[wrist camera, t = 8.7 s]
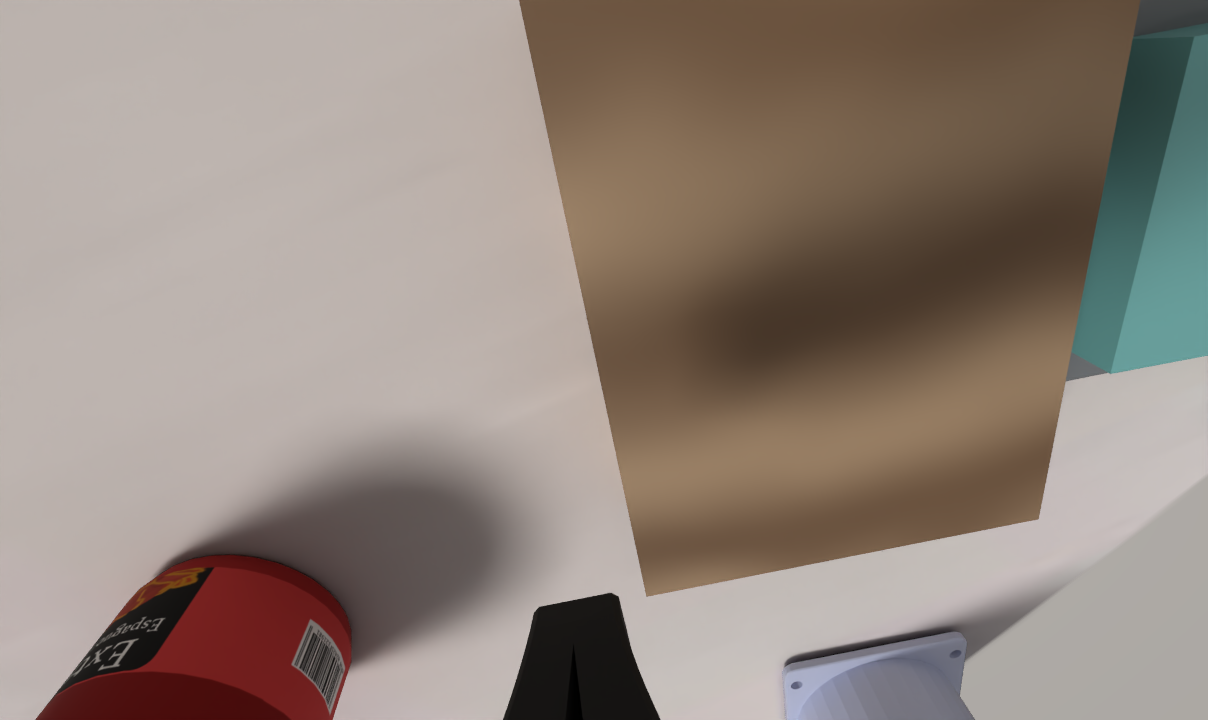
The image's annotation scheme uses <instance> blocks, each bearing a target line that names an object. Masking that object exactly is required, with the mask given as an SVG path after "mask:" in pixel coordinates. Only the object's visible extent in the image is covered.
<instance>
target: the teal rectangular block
mask: <svg viewBox="0 0 1208 720" xmlns="http://www.w3.org/2000/svg"><path fill="white" fill-rule="evenodd" d="M1071 352H1072V353H1074V354H1076V355H1077V356H1079V357H1081V358H1083V359H1085V360H1086V361H1088V362H1090V363H1092V364H1094V365H1095V366H1097V367H1099V368H1101V369H1103V370H1104V371H1106V372H1108V373H1110V374H1112V373H1118V372H1123V371H1128V370H1134V369H1139V368H1144V367H1149V366H1155V365H1160V364H1165V363H1171V362H1176V361H1181V360H1187V359H1192V358H1197V357H1202V356H1208V23H1204V24H1199V25H1194V26H1188V27H1183V28H1178V29H1173V30H1167V31H1162V32H1157V33H1152V34H1147V35H1141V36H1136V37H1133V40H1132V45H1131V50H1130V55H1129V60H1128V65H1127V70H1126V76H1125V81H1124V86H1123V91H1122V96H1121V101H1120V106H1119V111H1118V116H1117V121H1116V127H1115V132H1114V137H1113V142H1112V147H1111V152H1110V157H1109V162H1108V167H1107V172H1106V177H1105V183H1104V188H1103V193H1102V198H1101V203H1100V208H1099V213H1098V218H1097V223H1096V228H1095V234H1094V239H1093V244H1092V249H1091V254H1090V259H1089V264H1088V269H1087V274H1086V279H1085V284H1084V290H1083V295H1082V300H1081V305H1080V310H1079V315H1078V320H1077V325H1076V330H1075V335H1074V341H1073V346H1072V351H1071Z"/></svg>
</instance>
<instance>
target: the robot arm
mask: <svg viewBox="0 0 1208 720" xmlns="http://www.w3.org/2000/svg"><path fill="white" fill-rule="evenodd" d="M966 648H967V640H966V639H965V638H964V636H963V635H962V634H961V633H959V632H948V633H943V634H938V635H933V636H928V637H923V638H918V639H913V640H907V641H902V642H897V643H892V644H887V645H882V646H877V647H872V648H867V649H862V650H857V651H851V652H846V653H841V654H836V655H831V656H826V657H821V658H816V659H811V660H806V661H800V662H795V663H791V664H788V665H787V666H785V668H784V669H783V671H782V678H783V691H784V705H785V719H786V720H975V719H974V718H973V716H972V714H971V713H970V711H969V710H968V708H967V707H966V705H965V704H964V702H963V701H962V699H961V697H960V690H961V683H962V676H963V669H964V662H965V655H966ZM503 720H660V718H659V715H658V713H657V711H656V709H655V706H654V704H653V702H652V700H651V698H650V695H649V693H648V691H647V689H646V686H645V684H644V681H643V679H642V677H641V674H640V672H639V669H638V666H637V664H636V661H635V658H634V655H633V653H632V650H631V646H630V642H629V638H628V634H627V629H626V625H625V621H624V617H623V613H622V609H621V605H620V601H619V597H618V596H616V595H614V594H612V593H607V594H602V595H597V596H592V597H587V598H582V599H577V600H572V601H567V602H562V603H557V604H552V605H547V606H542V607H539V608H538V609H537V610H536V611H535V612H534V615H533V620H532V624H531V629H530V633H529V637H528V641H527V645H526V648H525V652H524V656H523V659H522V663H521V666H520V669H519V673H518V676H517V679H516V682H515V686H514V689H513V692H512V695H511V698H510V701H509V704H508V707H507V710H506V713H505V715H504V718H503Z"/></svg>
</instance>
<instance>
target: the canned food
mask: <svg viewBox="0 0 1208 720" xmlns="http://www.w3.org/2000/svg"><path fill="white" fill-rule="evenodd" d="M350 664H351V628H350V624H349V621H348V617H347V615H346V614H345V612H344V610H343V609H342V607H341V605H340V604H339V603H338V601H337V600H336V599H335V598H334V597H333V596H332V595H331V594H330V593H329V591H327V590H326V589H325V588H323V587H322V586H321V585H319V584H318V583H317V582H316V581H314V580H313V579H311V578H309V577H307V576H306V575H304V574H302V573H300V572H298V571H297V570H294V569H292V568H289V567H286V566H284V565H281V564H279V563H276V562H272V561H268V560H263V559H259V558H255V557H247V556H237V555H215V556H206V557H201V558H195V559H191V560H188V561H185V562H183V563H180V564H177V565H174V566H173V567H171V568H170V569H168V570H166V571H165V572H163V573H162V574H160V575H159V576H157V577H156V578H154V579H153V580H152V581H150V582H149V583H147V584H146V585H144V586H143V587H142V588H140V589H139V590H138V591H137V592H136V594H135V595H134V596H133V597H132V598H131V599H130V600H129V601H128V602H127V604H126V605H125V606H124V608H123V609H122V610H121V611H120V613H119V614H118V615H117V616H116V618H115V619H114V620H113V622H112V623H111V624H110V625H109V627H108V628H107V629H106V630H105V632H104V633H103V634H102V636H101V637H100V638H99V639H98V641H97V642H96V643H95V644H94V646H93V647H92V648H91V650H90V651H89V652H88V653H87V655H86V656H85V657H84V658H83V660H82V661H81V662H80V664H79V665H78V666H77V667H76V669H75V670H74V671H73V672H72V674H71V675H70V676H69V678H68V679H67V680H66V681H65V683H64V684H63V685H62V686H61V688H60V689H59V690H58V692H57V693H56V694H55V695H54V697H53V698H52V699H51V700H50V702H49V703H48V704H47V706H46V707H45V708H44V709H43V711H42V712H41V713H40V714H39V716H38V717H37V718H36V720H333V717H334V714H335V710H336V707H337V704H338V701H339V698H340V695H341V692H342V689H343V686H344V683H345V680H346V676H347V673H348V670H349V667H350Z"/></svg>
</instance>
